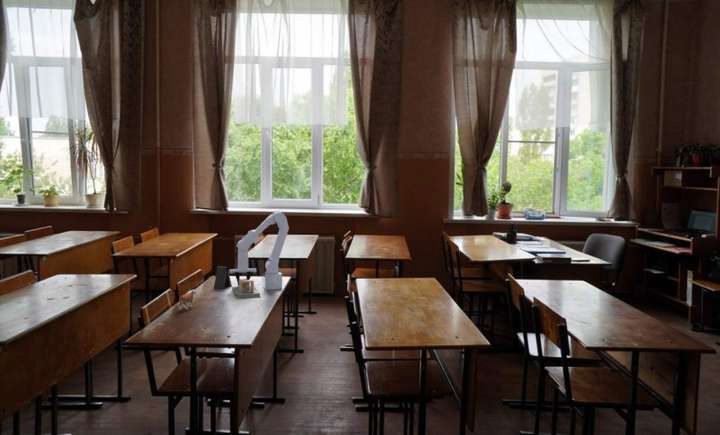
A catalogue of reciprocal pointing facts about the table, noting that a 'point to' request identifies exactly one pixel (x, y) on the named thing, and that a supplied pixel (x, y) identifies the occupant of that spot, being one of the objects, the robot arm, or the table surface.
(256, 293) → the deck
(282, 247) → the robot arm
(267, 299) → the table surface
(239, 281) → the tunnel
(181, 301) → the bull figurine
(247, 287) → the block
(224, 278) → the phone stand
